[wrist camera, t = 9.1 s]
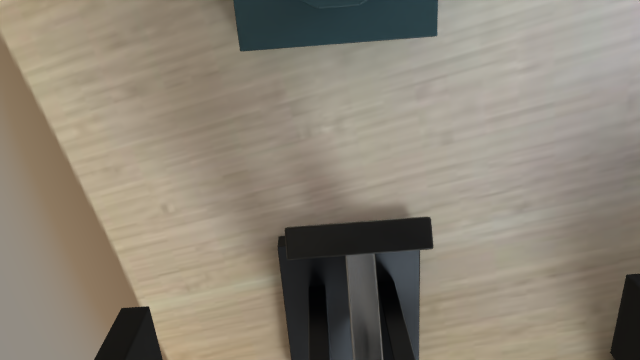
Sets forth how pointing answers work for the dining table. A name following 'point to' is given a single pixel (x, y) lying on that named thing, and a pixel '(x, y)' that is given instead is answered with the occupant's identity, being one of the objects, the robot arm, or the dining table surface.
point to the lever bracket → (333, 308)
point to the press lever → (360, 265)
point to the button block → (331, 22)
